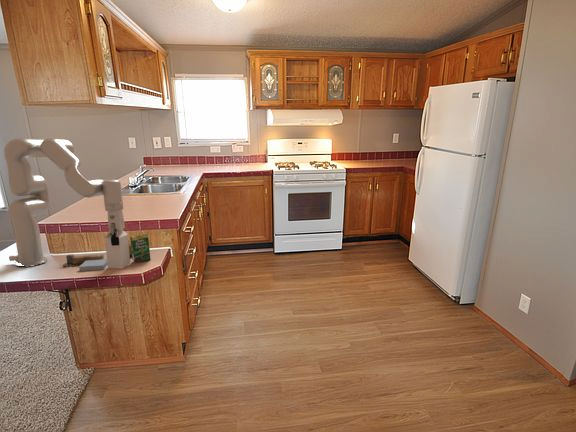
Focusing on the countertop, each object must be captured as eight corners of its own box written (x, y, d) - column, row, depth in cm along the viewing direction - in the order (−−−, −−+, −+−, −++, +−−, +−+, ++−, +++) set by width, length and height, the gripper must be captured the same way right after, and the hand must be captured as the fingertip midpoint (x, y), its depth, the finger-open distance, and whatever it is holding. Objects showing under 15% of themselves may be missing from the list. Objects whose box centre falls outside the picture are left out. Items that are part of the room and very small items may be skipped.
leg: (66, 264, 161) (65, 256, 160) (68, 262, 164) (67, 254, 163) (102, 261, 165) (101, 254, 165) (104, 259, 168) (103, 252, 168)
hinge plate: (60, 267, 159) (60, 266, 159) (65, 262, 165) (65, 262, 165) (76, 266, 160) (76, 265, 160) (81, 261, 167) (81, 261, 167)
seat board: (79, 271, 154) (79, 266, 154) (86, 264, 163) (85, 260, 162) (103, 269, 157) (103, 265, 156) (108, 262, 165) (108, 259, 165)
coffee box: (133, 263, 165) (131, 237, 163) (132, 261, 167) (130, 236, 165) (150, 260, 170) (148, 235, 167) (149, 258, 172) (147, 233, 170)
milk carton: (130, 264, 164) (127, 226, 160) (122, 269, 157) (118, 229, 153) (116, 263, 165) (113, 225, 161) (107, 268, 158) (103, 229, 154)
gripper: (118, 209, 148) (122, 246, 151) (126, 203, 164) (130, 237, 168) (99, 210, 146) (104, 248, 149) (109, 204, 163) (113, 238, 166)
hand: (118, 242), depth 159 cm, fingers open, 9 cm apart
